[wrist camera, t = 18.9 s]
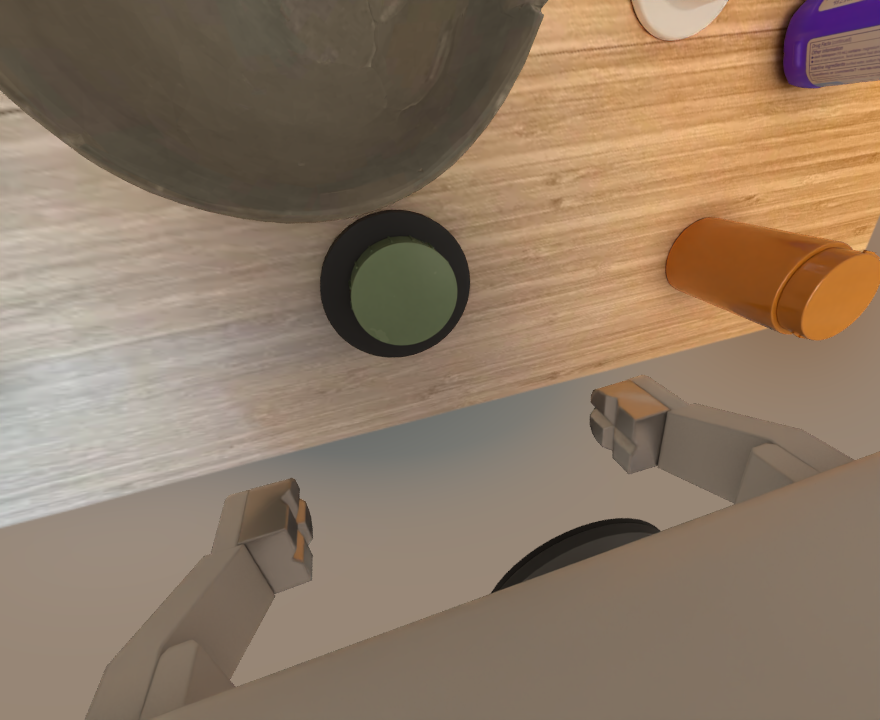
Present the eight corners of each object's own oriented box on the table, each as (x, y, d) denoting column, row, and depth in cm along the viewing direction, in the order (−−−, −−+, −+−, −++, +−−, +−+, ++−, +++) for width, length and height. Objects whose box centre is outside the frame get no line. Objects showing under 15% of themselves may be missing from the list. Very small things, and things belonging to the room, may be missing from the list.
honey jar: (706, 295, 35) (841, 349, 26) (653, 286, 33) (779, 341, 24) (743, 224, 32) (906, 257, 23) (688, 210, 30) (842, 239, 21)
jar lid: (367, 219, 24) (371, 224, 22) (465, 256, 27) (474, 263, 25) (335, 319, 26) (336, 330, 25) (428, 344, 29) (434, 356, 27)
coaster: (449, 357, 31) (452, 362, 30) (314, 346, 28) (314, 352, 27) (482, 225, 27) (486, 227, 26) (327, 194, 24) (328, 196, 23)
